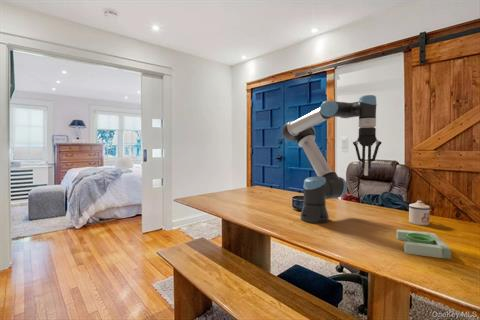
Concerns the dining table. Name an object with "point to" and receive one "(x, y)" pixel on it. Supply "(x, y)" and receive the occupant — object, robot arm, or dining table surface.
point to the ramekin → (420, 238)
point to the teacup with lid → (419, 213)
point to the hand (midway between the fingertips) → (366, 175)
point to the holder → (425, 246)
